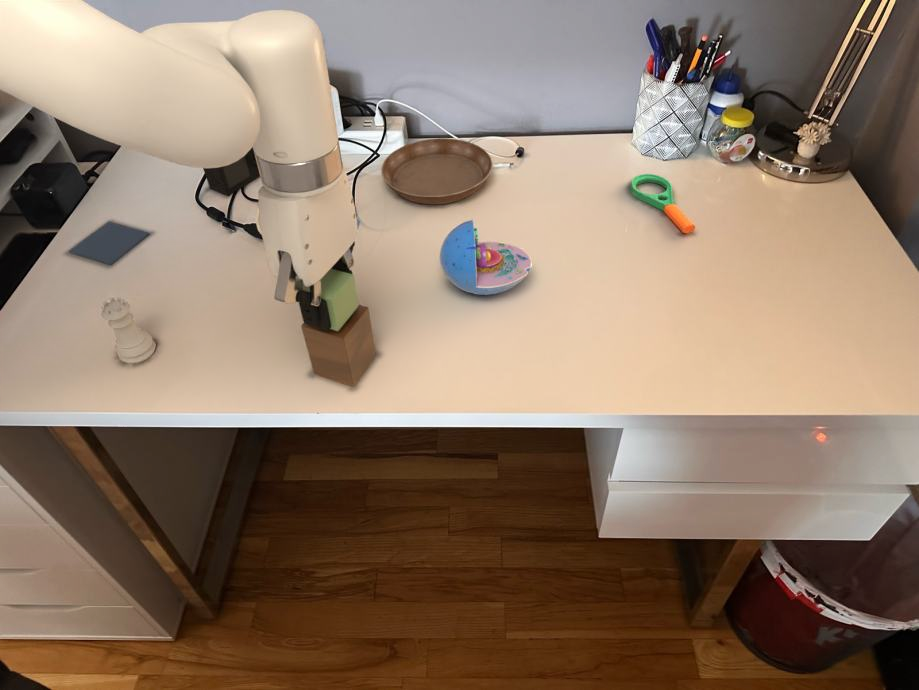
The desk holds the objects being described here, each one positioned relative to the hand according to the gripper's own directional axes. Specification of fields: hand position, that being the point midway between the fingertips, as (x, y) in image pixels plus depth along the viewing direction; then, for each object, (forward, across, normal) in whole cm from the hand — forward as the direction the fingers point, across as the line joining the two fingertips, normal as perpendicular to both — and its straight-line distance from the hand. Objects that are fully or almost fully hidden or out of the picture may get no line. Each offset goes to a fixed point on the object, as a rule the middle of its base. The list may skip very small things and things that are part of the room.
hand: (330, 309), depth 74 cm
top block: (+1, 0, 0) cm, 1 cm away
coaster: (+9, -8, -45) cm, 46 cm away
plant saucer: (+9, -41, -7) cm, 43 cm away
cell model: (+9, -20, +10) cm, 25 cm away
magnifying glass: (+9, -47, +28) cm, 56 cm away
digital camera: (+9, -30, -37) cm, 49 cm away
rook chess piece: (+10, +8, -25) cm, 28 cm away
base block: (+9, 0, 0) cm, 9 cm away
